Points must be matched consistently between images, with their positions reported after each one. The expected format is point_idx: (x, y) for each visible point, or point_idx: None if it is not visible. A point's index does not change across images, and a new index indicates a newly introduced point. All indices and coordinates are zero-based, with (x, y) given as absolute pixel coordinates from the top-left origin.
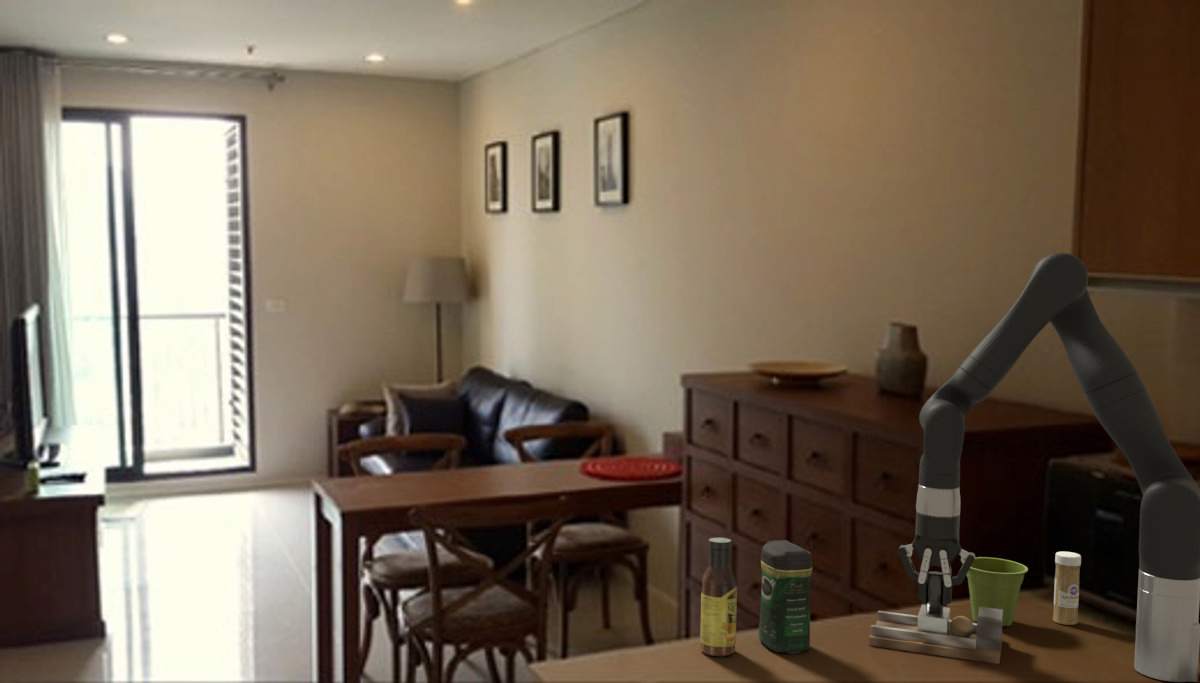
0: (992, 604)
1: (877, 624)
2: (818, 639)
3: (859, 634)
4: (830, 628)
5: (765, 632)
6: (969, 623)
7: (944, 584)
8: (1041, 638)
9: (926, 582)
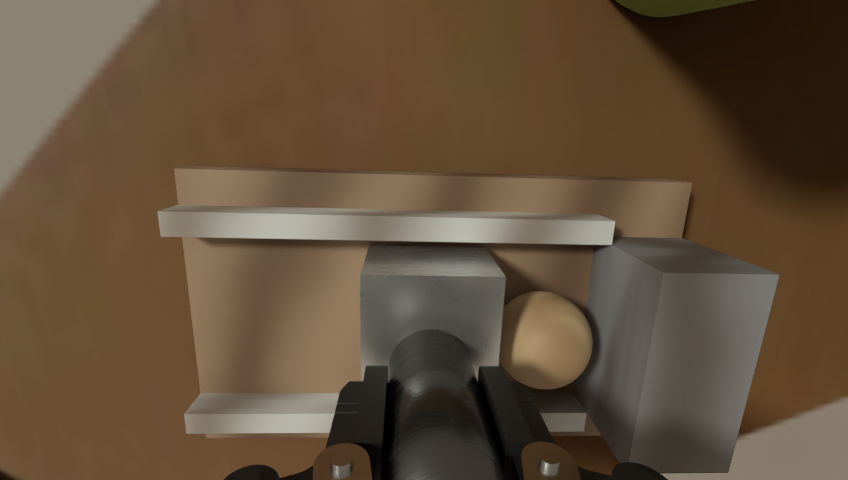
0: (735, 1)
1: (196, 288)
2: (42, 427)
3: (157, 323)
4: (33, 300)
5: None
6: (580, 374)
7: (506, 458)
8: (830, 85)
9: (377, 461)
